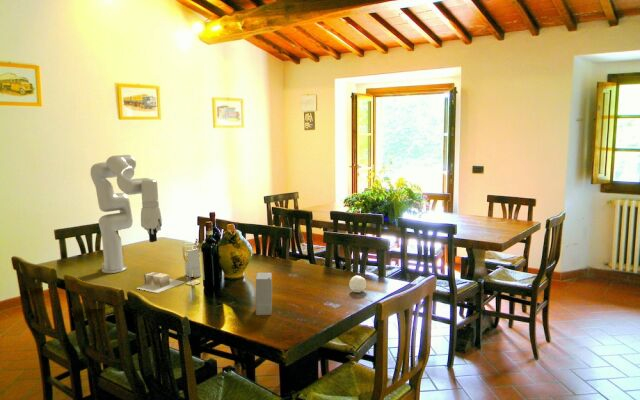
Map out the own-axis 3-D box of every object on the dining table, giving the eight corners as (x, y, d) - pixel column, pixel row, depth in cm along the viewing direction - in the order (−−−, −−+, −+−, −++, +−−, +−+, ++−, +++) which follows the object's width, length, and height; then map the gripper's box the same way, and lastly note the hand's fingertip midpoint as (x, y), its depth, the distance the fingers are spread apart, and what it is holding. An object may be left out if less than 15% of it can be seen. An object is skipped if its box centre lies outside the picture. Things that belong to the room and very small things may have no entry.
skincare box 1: (201, 276, 248) (199, 249, 245) (189, 278, 244) (188, 250, 242) (195, 272, 254) (194, 246, 252) (184, 275, 251) (183, 247, 249)
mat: (135, 288, 230) (135, 288, 230) (164, 278, 246) (164, 277, 246) (157, 293, 223) (157, 292, 223) (185, 282, 239) (185, 281, 239)
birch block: (144, 274, 235) (161, 277, 230) (152, 271, 240) (169, 274, 234) (145, 284, 236) (162, 287, 230) (153, 281, 241) (170, 284, 235)
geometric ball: (353, 298, 218) (343, 284, 218) (361, 287, 224) (351, 274, 224) (364, 293, 213) (353, 280, 213) (372, 283, 219) (361, 269, 218)
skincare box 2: (256, 308, 201) (255, 272, 199) (273, 307, 202) (272, 271, 199) (255, 316, 193) (253, 278, 190) (273, 315, 193) (271, 277, 191)
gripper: (133, 205, 231) (136, 241, 233) (155, 206, 223) (158, 244, 226) (146, 202, 237) (148, 238, 240) (167, 204, 230) (169, 241, 233)
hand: (153, 241), depth 233 cm, fingers closed
